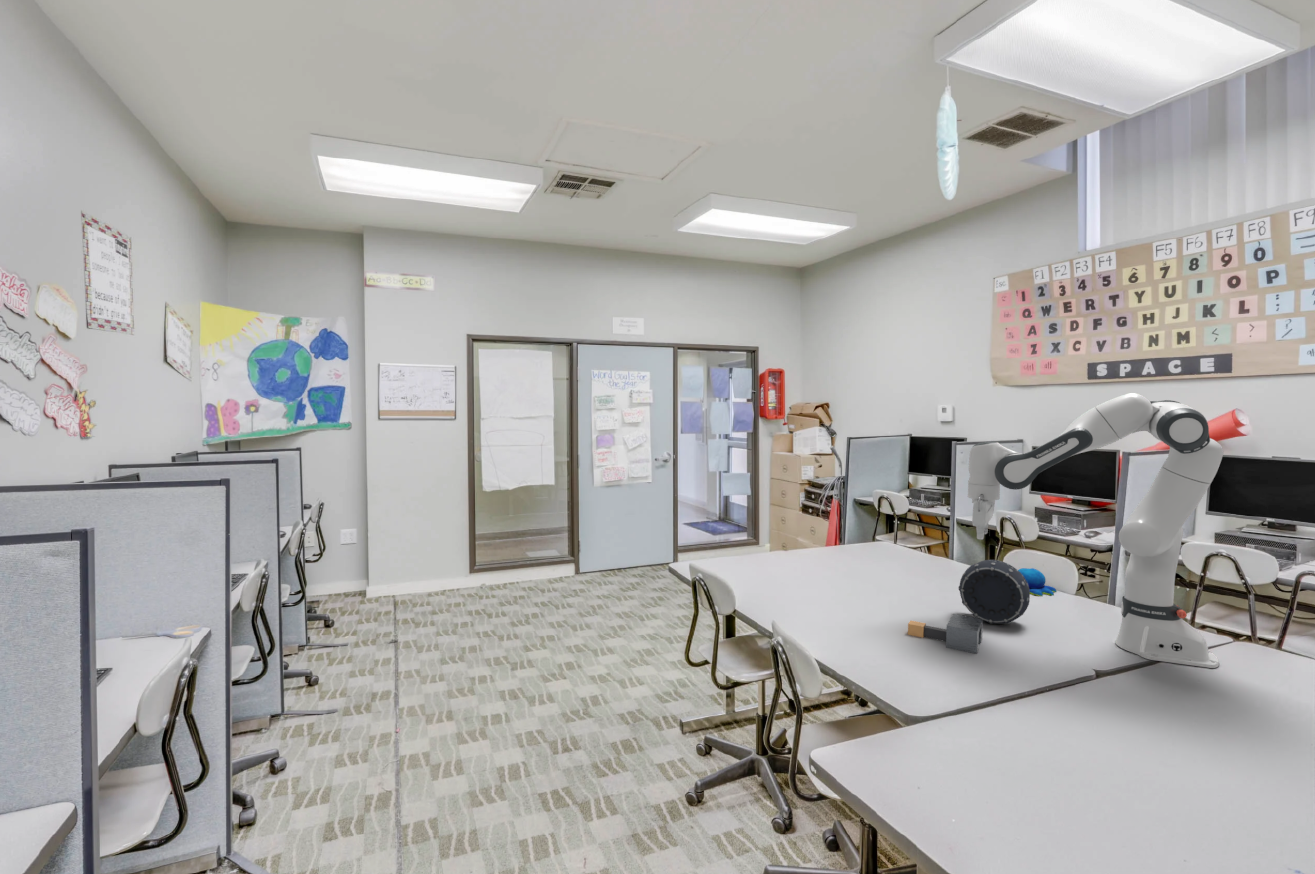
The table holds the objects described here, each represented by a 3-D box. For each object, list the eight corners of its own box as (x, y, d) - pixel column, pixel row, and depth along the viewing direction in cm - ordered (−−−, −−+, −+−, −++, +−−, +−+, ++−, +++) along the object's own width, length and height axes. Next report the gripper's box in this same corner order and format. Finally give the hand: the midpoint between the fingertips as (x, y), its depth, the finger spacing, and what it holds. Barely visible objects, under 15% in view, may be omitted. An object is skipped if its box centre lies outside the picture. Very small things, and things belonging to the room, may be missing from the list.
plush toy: (1028, 598, 222) (1029, 576, 221) (993, 584, 238) (994, 564, 238) (1066, 595, 225) (1067, 573, 225) (1029, 582, 242) (1030, 561, 241)
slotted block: (982, 640, 181) (982, 619, 181) (976, 653, 171) (977, 631, 171) (952, 634, 185) (953, 613, 185) (946, 647, 176) (946, 625, 175)
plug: (974, 643, 178) (975, 632, 178) (973, 647, 175) (973, 636, 175) (910, 631, 188) (910, 620, 188) (907, 634, 185) (908, 623, 185)
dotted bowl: (1026, 633, 186) (1029, 569, 185) (955, 619, 199) (957, 559, 198) (1030, 623, 195) (1032, 562, 194) (962, 610, 207) (964, 553, 206)
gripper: (991, 497, 179) (989, 543, 180) (998, 490, 196) (996, 532, 197) (967, 496, 183) (966, 541, 184) (976, 488, 200) (975, 529, 201)
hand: (982, 536), depth 190 cm, fingers open, 8 cm apart
